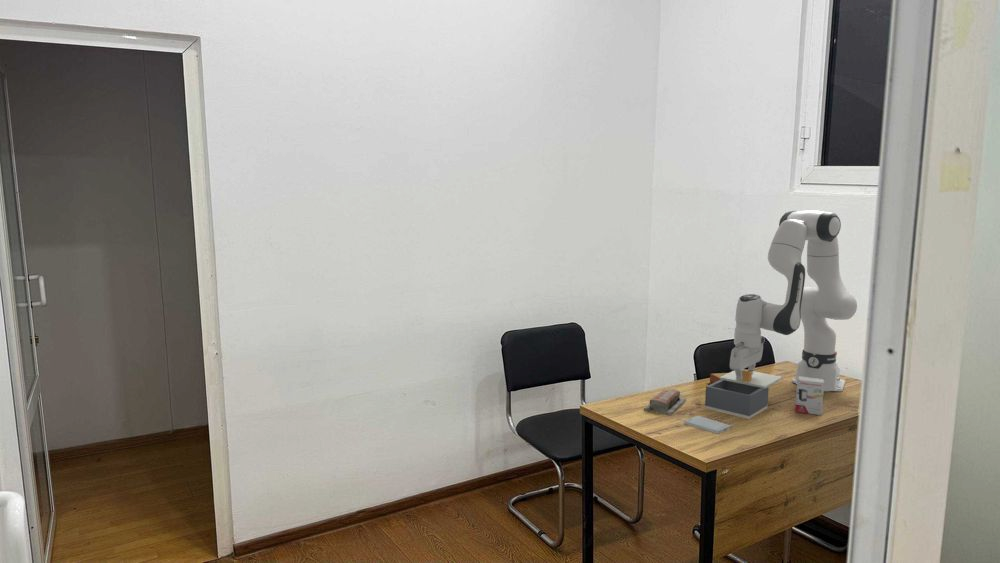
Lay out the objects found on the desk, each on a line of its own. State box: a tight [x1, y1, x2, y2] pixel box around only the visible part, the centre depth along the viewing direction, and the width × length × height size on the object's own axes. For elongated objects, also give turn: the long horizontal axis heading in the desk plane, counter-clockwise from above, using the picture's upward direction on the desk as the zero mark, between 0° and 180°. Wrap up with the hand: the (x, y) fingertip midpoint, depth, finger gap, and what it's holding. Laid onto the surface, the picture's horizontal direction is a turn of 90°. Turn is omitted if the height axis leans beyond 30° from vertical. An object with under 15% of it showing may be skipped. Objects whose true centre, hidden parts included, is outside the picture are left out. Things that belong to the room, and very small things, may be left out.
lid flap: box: [720, 368, 783, 389], centre depth 248 cm, size 17×17×4 cm
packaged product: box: [643, 388, 687, 416], centre depth 242 cm, size 18×5×10 cm
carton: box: [709, 372, 729, 384], centre depth 264 cm, size 8×16×4 cm, turn 13°
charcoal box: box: [704, 380, 770, 420], centre depth 240 cm, size 16×16×8 cm
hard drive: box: [684, 415, 733, 435], centre depth 222 cm, size 2×8×12 cm
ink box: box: [794, 376, 825, 416], centre depth 236 cm, size 9×5×12 cm, turn 67°
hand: (744, 377), depth 243 cm, fingers open, 8 cm apart
